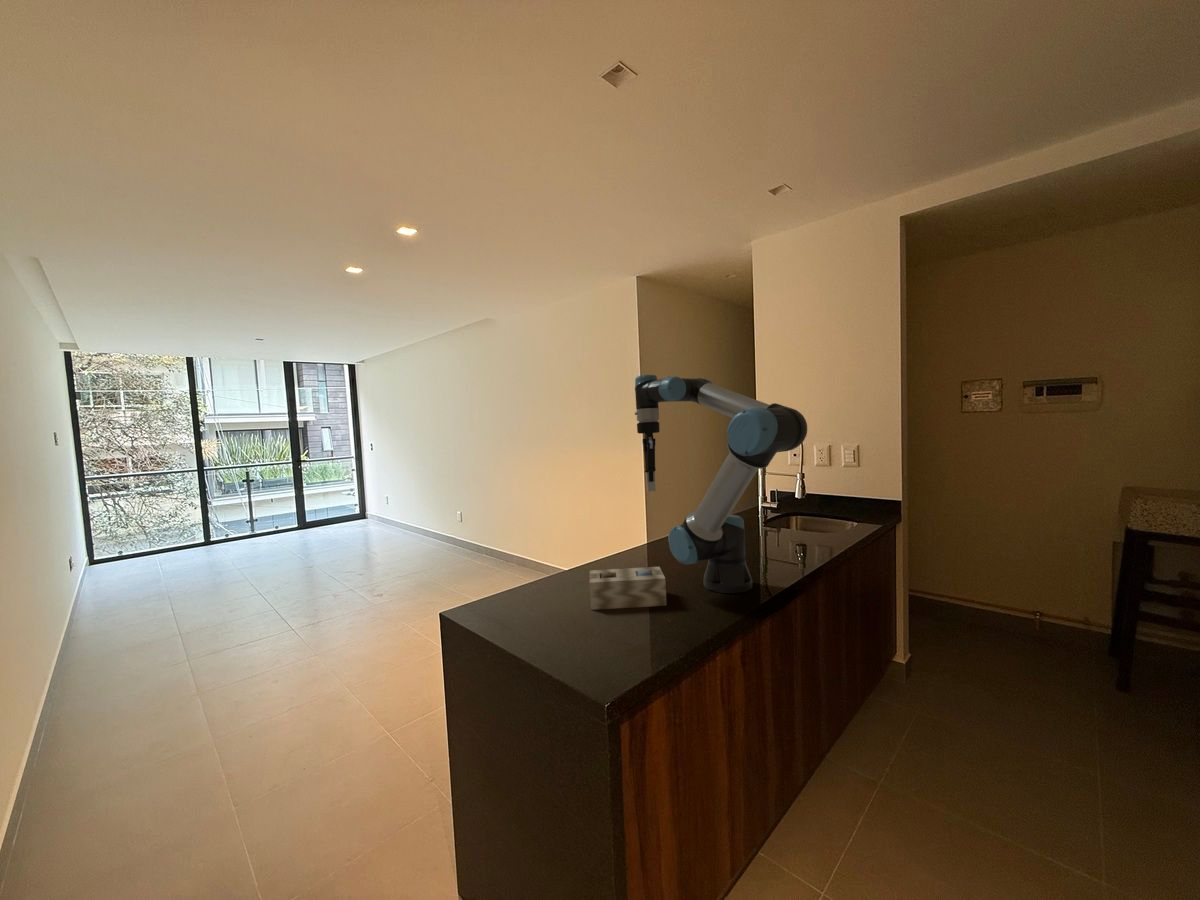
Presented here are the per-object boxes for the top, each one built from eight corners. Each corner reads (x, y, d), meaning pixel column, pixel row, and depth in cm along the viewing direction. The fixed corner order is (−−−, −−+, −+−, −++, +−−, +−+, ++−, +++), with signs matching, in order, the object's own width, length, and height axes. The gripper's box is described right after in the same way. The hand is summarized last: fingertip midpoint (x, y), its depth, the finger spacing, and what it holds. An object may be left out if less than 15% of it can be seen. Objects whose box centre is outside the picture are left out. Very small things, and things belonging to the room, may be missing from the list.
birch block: (660, 591, 150) (659, 566, 150) (666, 605, 138) (665, 578, 138) (591, 595, 150) (589, 570, 150) (591, 609, 138) (589, 582, 138)
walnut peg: (615, 597, 146) (614, 571, 146) (616, 602, 142) (614, 575, 142) (602, 598, 146) (601, 572, 146) (602, 603, 142) (601, 576, 142)
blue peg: (651, 595, 146) (649, 569, 146) (652, 599, 142) (651, 573, 142) (638, 596, 146) (636, 570, 146) (639, 600, 142) (638, 574, 142)
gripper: (635, 422, 167) (638, 489, 168) (638, 421, 154) (642, 494, 155) (656, 421, 167) (659, 488, 168) (661, 420, 154) (665, 492, 155)
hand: (651, 490), depth 161 cm, fingers closed
